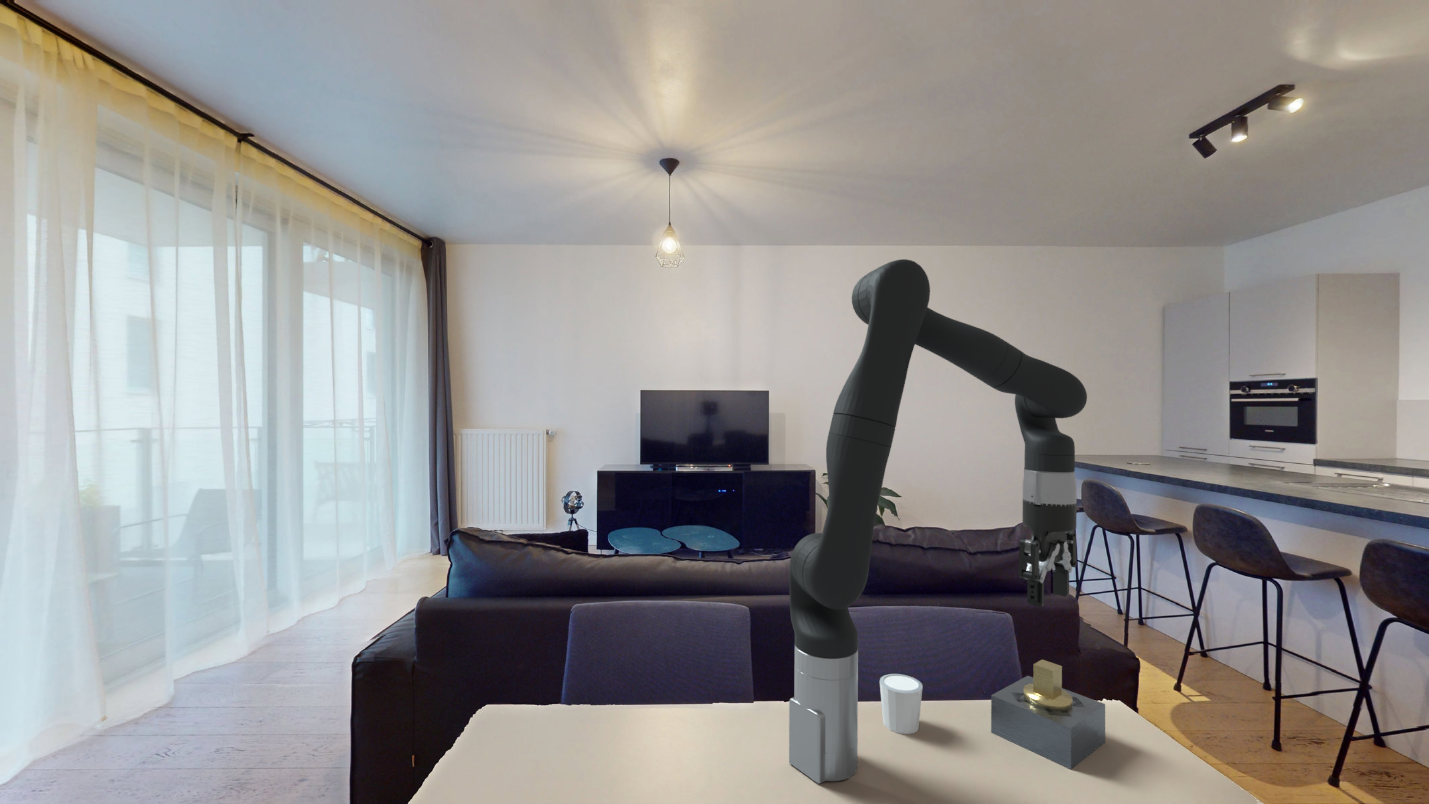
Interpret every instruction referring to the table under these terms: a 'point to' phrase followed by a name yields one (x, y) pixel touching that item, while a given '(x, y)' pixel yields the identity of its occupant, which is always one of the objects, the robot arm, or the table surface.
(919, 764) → the table surface
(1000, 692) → the housing
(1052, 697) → the end cover
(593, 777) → the table surface
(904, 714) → the shot glass
